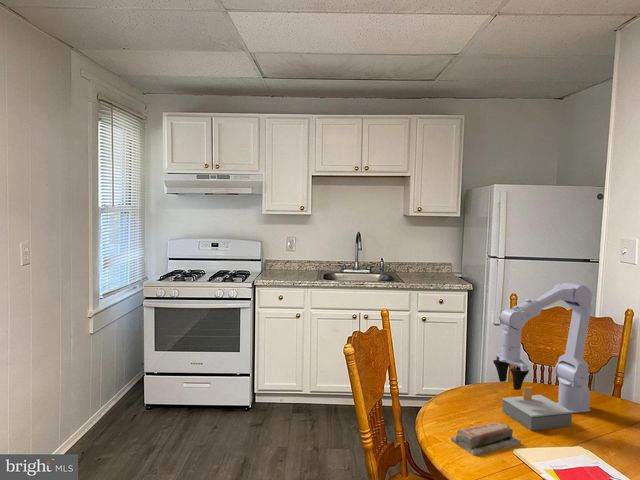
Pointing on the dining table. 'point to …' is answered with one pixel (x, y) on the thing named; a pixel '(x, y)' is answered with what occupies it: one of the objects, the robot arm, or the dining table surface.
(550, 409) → the carton lid
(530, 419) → the carton
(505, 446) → the packaged product
